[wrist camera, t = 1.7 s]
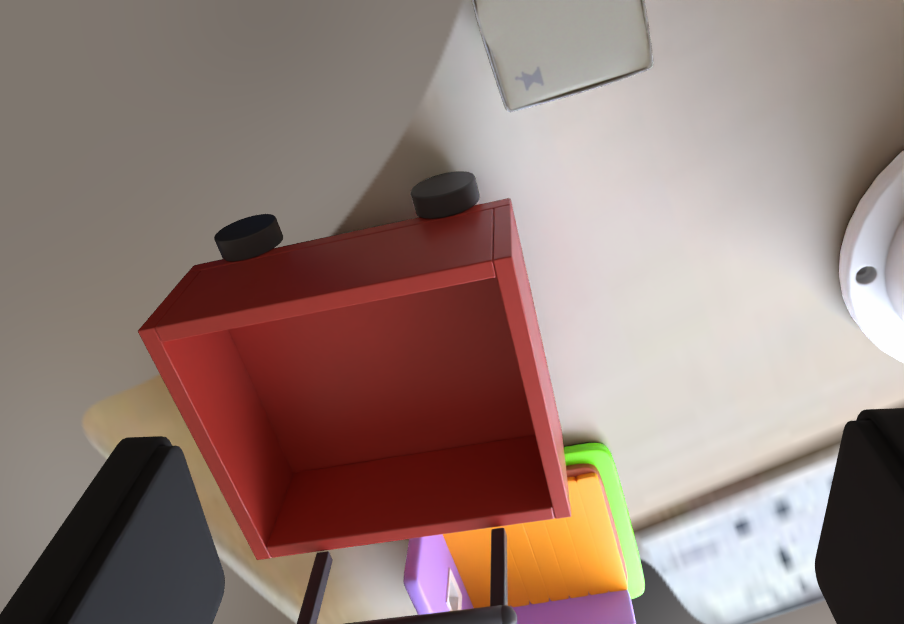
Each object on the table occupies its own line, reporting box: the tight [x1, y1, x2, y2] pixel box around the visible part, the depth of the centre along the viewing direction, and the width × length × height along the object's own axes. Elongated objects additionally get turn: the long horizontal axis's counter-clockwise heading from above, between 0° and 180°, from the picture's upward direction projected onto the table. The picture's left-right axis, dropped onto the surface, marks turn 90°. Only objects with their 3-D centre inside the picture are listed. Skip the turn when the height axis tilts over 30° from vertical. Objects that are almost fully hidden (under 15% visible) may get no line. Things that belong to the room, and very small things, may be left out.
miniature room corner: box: [404, 443, 645, 624], centre depth 39 cm, size 12×12×7 cm
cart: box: [138, 172, 571, 624], centre depth 30 cm, size 14×14×13 cm
